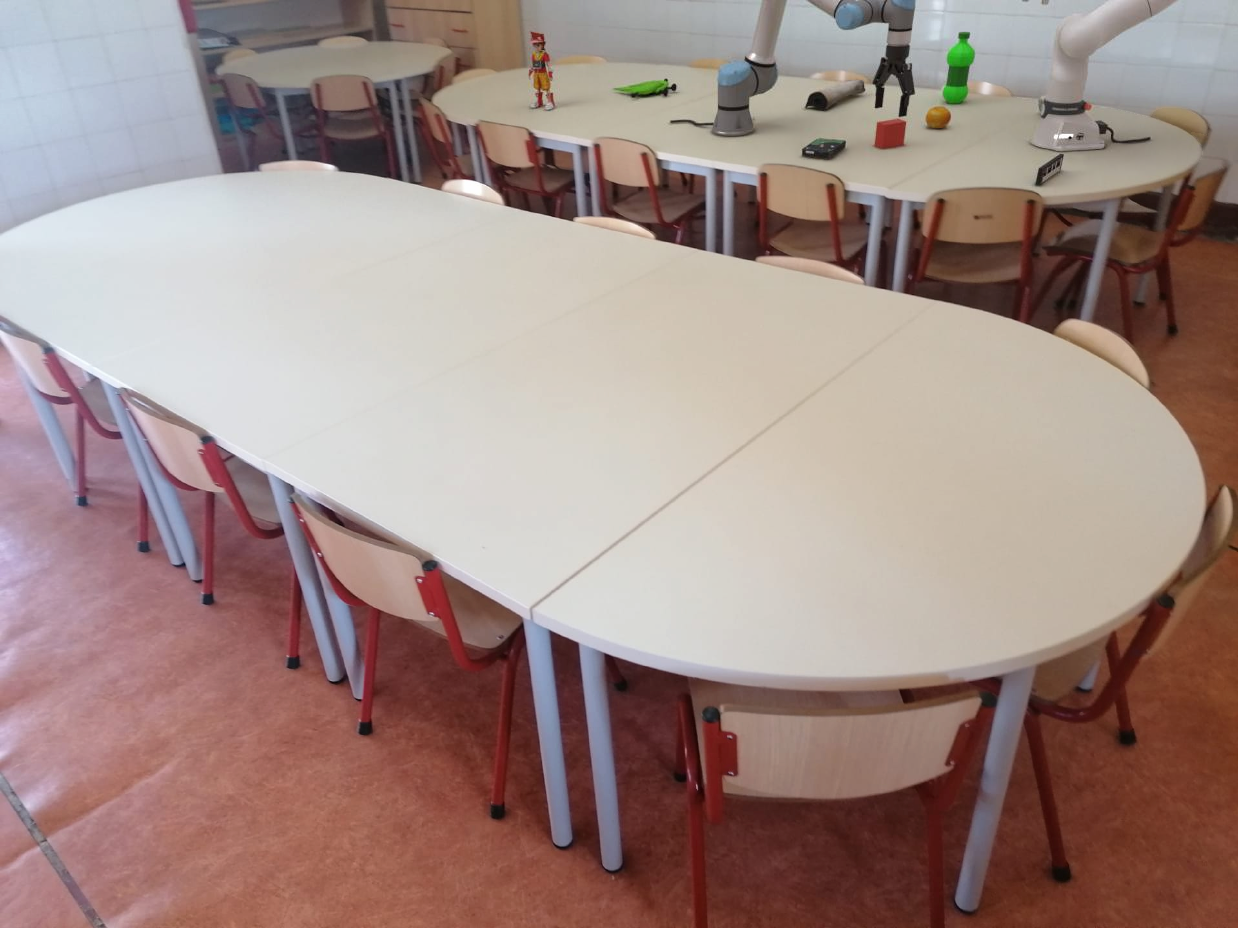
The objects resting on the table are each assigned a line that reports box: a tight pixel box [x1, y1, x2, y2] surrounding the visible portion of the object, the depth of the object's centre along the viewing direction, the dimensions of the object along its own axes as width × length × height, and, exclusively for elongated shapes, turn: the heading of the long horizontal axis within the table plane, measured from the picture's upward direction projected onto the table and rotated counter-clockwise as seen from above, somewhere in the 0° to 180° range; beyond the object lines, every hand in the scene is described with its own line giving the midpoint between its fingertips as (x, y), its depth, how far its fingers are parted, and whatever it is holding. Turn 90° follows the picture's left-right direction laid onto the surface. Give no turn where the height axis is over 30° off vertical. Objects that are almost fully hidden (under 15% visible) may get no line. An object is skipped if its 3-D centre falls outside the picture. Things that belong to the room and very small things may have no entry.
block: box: [873, 118, 907, 150], centre depth 309 cm, size 5×9×8 cm, turn 111°
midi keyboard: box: [1035, 153, 1065, 186], centre depth 273 cm, size 18×1×5 cm, turn 138°
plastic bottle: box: [942, 31, 976, 104], centre depth 348 cm, size 10×10×25 cm
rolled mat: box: [804, 78, 866, 111], centre depth 363 cm, size 30×9×10 cm
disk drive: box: [801, 137, 847, 160], centre depth 307 cm, size 10×3×15 cm
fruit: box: [925, 105, 952, 129], centre depth 325 cm, size 8×8×8 cm
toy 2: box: [612, 78, 677, 99], centre depth 396 cm, size 28×5×30 cm
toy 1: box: [527, 31, 556, 111], centre depth 374 cm, size 12×9×30 cm
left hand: (890, 112), depth 305 cm, fingers open, 13 cm apart
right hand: (1034, 3), depth 316 cm, fingers open, 8 cm apart
